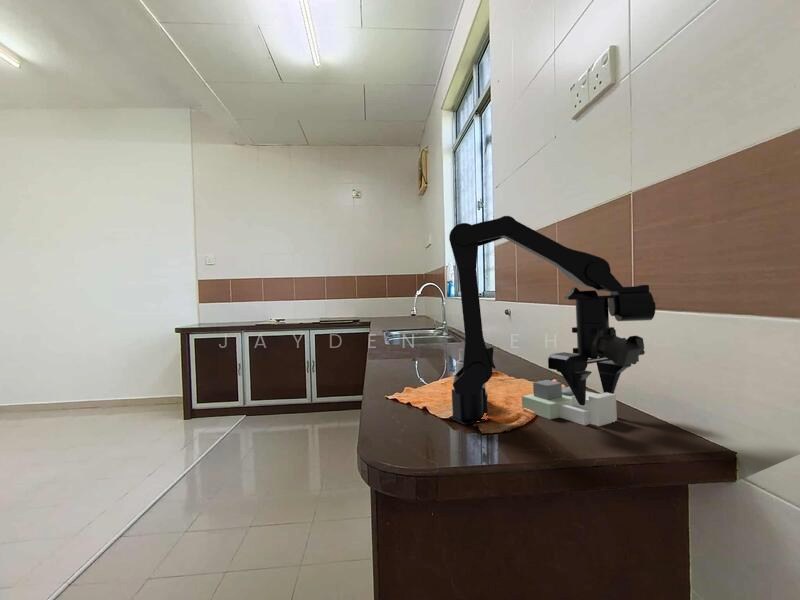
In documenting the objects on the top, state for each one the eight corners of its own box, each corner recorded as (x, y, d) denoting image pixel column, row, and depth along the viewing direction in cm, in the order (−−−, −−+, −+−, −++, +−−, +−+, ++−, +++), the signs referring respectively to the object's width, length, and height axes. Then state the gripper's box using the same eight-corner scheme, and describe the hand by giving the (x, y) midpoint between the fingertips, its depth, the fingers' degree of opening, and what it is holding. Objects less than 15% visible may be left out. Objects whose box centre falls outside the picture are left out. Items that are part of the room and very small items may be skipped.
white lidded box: (598, 426, 76) (597, 398, 76) (572, 418, 81) (571, 392, 81) (616, 421, 78) (615, 394, 78) (590, 414, 84) (589, 388, 83)
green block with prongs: (574, 427, 76) (573, 395, 75) (522, 409, 88) (521, 382, 88) (625, 415, 81) (624, 385, 81) (569, 399, 94) (568, 374, 94)
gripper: (594, 328, 68) (597, 421, 68) (664, 320, 76) (667, 403, 76) (544, 325, 78) (547, 406, 78) (611, 318, 86) (614, 391, 86)
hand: (595, 402), depth 79 cm, fingers open, 7 cm apart
